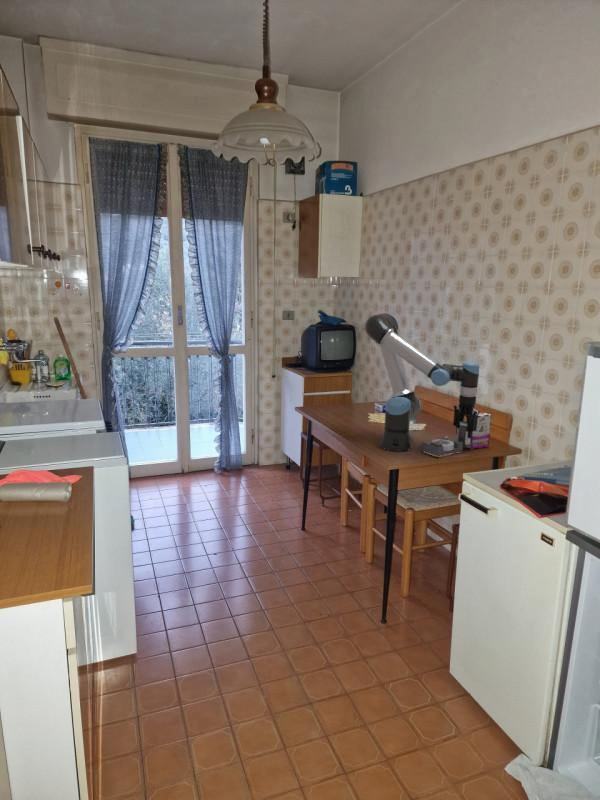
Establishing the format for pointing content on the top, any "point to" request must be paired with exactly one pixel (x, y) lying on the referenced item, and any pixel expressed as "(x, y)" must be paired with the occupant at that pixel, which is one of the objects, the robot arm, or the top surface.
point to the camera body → (442, 446)
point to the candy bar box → (481, 432)
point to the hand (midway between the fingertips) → (462, 442)
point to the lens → (462, 432)
